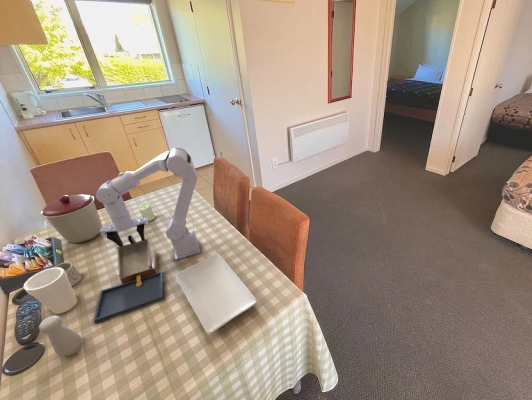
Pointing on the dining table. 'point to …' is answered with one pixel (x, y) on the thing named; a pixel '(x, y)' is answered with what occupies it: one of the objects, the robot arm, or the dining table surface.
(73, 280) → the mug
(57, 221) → the canister
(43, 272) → the foam cup
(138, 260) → the dish
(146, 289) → the tray
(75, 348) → the salt shaker
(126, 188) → the robot arm
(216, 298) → the tray
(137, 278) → the key
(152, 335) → the dining table surface
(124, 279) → the shallow wooden box
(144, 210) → the candle
